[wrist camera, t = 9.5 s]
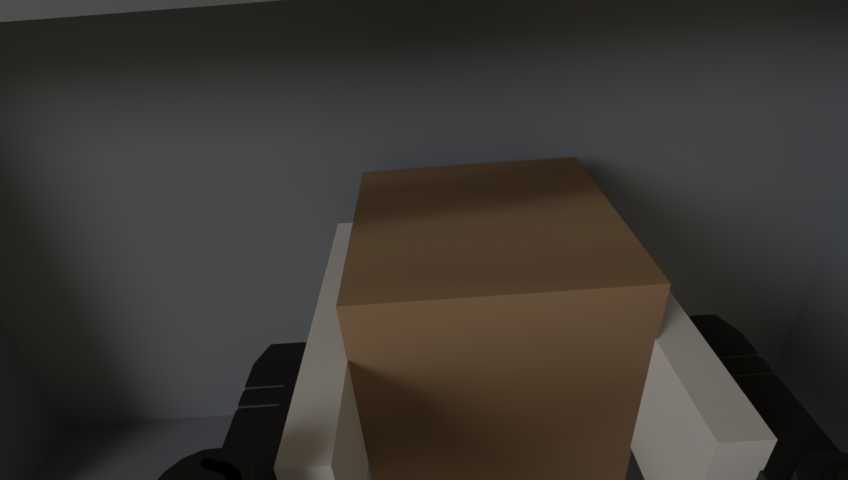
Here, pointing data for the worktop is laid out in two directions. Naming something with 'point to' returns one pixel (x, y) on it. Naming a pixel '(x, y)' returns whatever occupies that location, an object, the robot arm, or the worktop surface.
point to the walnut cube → (496, 323)
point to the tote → (379, 151)
